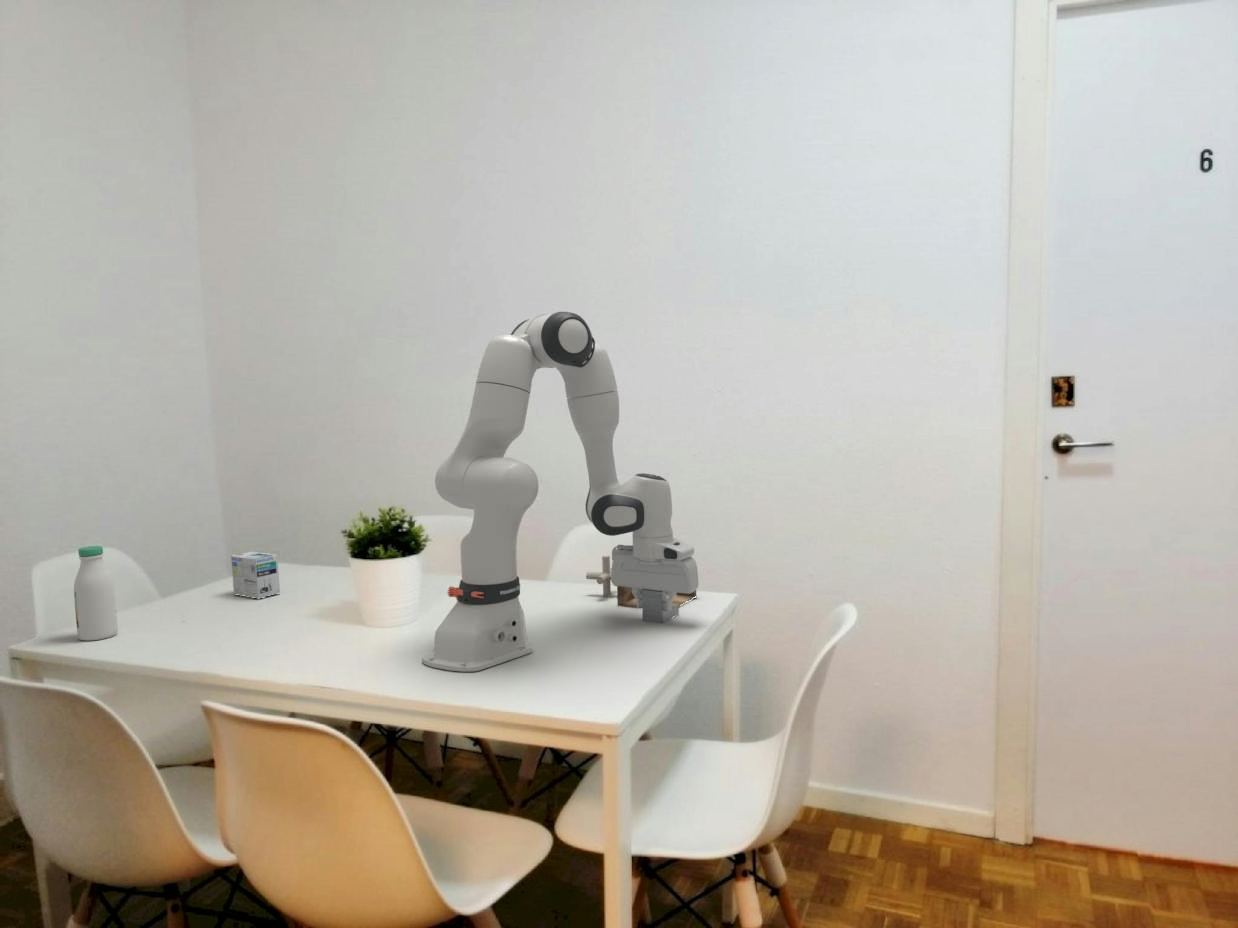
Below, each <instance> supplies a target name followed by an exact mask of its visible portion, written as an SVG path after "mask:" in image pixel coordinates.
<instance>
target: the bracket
mask: <svg viewBox="0 0 1238 928" xmlns="http://www.w3.org/2000/svg"><path fill="white" fill-rule="evenodd" d="M664 602H666V591H658V590H649V589H642V609H641V610H642V621H643V622H649V623H658V624H664V623H666V622H668V621H669V619H670V618H671V619H673V618H674V617H673V616H675V615H677V614H678V613H679V612H680V609H679V608H680V607H679V606H677V605H672V610H671V611H663V603H664ZM679 614H680V613H679ZM677 616H678V615H677ZM672 617H673V618H672ZM675 617H676V616H675ZM671 619H670V620H671ZM667 620H668V621H667ZM665 621H666V622H665Z"/></svg>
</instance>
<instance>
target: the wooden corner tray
mask: <svg viewBox="0 0 1238 928" xmlns="http://www.w3.org/2000/svg"><path fill="white" fill-rule="evenodd" d="M616 591H617V592H616V594H617V595H616V596H617V606H618V607H625V608H633V607H635V608H634V609H638V608H637V600H636V599H635V597H634V595H633V594H632V588H630V587H620V586H616ZM640 593H641V595H642V591H640ZM695 596H696V597H697V589H696V590H695V591H694V592H692V593H690V594H687V593H677V595H676V597H675V599H674V600H673V602H672V605H677V606H680V605H681V604H683V603H685V602H686V601H689V600H691V599H692V598H693V597H695ZM668 598H669V596H667V591H666V601H667V600H668Z"/></svg>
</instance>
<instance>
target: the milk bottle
mask: <svg viewBox="0 0 1238 928" xmlns="http://www.w3.org/2000/svg"><path fill="white" fill-rule="evenodd" d="M78 556H79V558H78V559H80V560H79V561H80V564H79V565H80V566H79V568H78V571H77V574H76V577H75V579H74V583H73V584H74V585H73V597H74V599H73V600H74V608H75V609H74V610H75V611H74V612H75V619H76V620H75V622H76V630H77V631H76V632H77V638H78V640H80V641H87V642H88V641H89V642H90V641H100V640H104V639H109V638H111V637H114V636H116V635H117V634H118V632H119V631H118V616H117V605H116V595H115V585H114V582H113V578H112V576H111V573H110V572H109V571H108V569H107V568H106V567H107V566H106V565H105V563H104V560H103V556H104V549H103V547H102V546H101V545H92V546H91V545H90V546H84V547H80V548H78Z"/></svg>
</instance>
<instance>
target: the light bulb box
mask: <svg viewBox="0 0 1238 928" xmlns="http://www.w3.org/2000/svg"><path fill="white" fill-rule="evenodd" d="M230 559H231V560H230V561H231V574H232V587H233V595H234V594H239V595H245V596H249V597H255V598H262V597H266V596H268V595H272V594H277V593H279V592H280V593H281V588H280V576H279V573H280V572H279V561H278V554H277V553H276V554H275V553H266V552H258V551H257V552H256V551H248V552H242V553H238V554H231V555H230Z"/></svg>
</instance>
